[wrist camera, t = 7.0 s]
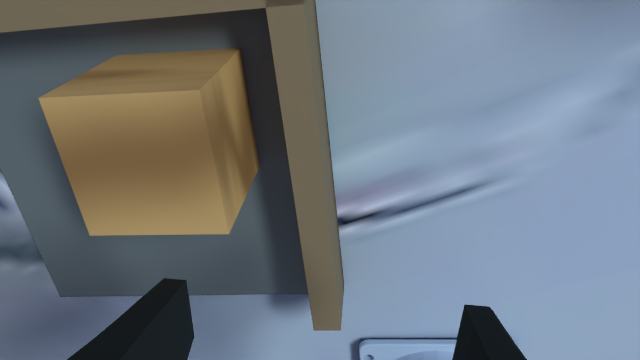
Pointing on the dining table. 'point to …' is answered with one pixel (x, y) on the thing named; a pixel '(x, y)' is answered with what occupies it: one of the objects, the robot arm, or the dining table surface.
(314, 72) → the arena
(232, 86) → the block
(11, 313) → the dining table surface
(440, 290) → the dining table surface
